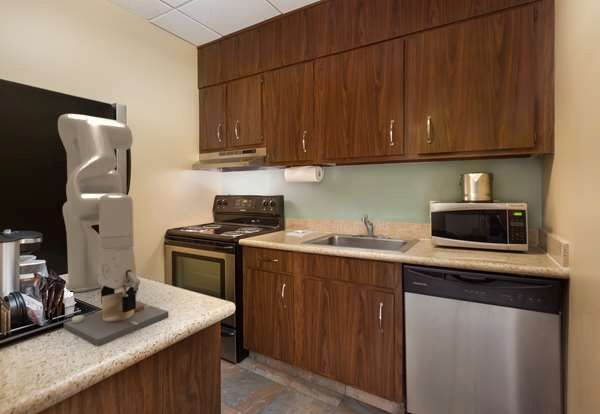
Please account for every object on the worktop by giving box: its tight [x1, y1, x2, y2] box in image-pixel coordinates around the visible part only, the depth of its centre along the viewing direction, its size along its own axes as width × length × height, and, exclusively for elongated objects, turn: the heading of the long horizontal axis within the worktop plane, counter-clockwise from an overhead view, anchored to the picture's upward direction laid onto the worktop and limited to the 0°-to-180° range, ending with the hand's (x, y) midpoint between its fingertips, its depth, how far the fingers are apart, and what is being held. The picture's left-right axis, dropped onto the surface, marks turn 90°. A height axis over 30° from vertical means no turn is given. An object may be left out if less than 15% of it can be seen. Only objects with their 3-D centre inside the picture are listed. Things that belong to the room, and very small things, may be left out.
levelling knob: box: [101, 289, 144, 323], centre depth 79 cm, size 10×7×6 cm
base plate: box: [63, 300, 169, 347], centre depth 78 cm, size 16×18×3 cm
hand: (118, 306), depth 78 cm, fingers open, 9 cm apart
